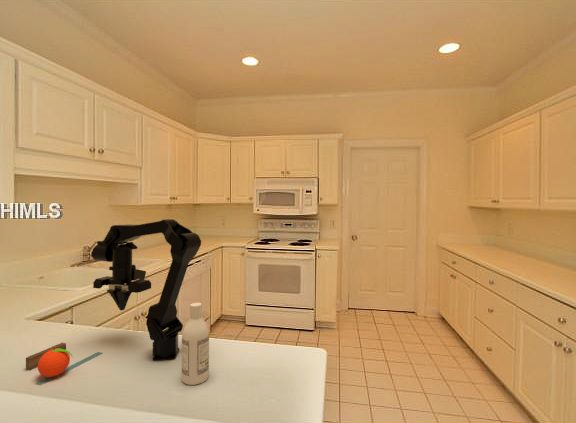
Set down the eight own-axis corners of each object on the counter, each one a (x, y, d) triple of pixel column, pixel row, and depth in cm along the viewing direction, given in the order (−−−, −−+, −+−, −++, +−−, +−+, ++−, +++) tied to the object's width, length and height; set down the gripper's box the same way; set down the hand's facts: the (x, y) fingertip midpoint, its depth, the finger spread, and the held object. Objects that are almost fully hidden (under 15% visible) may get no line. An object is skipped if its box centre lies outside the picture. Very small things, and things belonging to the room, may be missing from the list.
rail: (66, 354, 92) (66, 343, 92) (29, 371, 83) (29, 358, 83) (62, 353, 93) (62, 342, 93) (25, 370, 83) (25, 357, 83)
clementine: (79, 366, 85) (79, 342, 84) (66, 380, 78) (66, 353, 78) (47, 369, 83) (47, 344, 83) (31, 384, 76) (31, 356, 76)
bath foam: (210, 370, 84) (211, 299, 83) (206, 385, 77) (206, 308, 77) (185, 371, 83) (185, 300, 83) (178, 386, 76) (179, 308, 76)
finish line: (102, 353, 93) (102, 352, 93) (40, 386, 76) (40, 385, 76) (97, 352, 94) (97, 351, 94) (34, 384, 76) (34, 383, 76)
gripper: (163, 260, 103) (162, 305, 103) (120, 257, 108) (120, 300, 108) (138, 266, 92) (137, 316, 92) (92, 262, 97) (91, 310, 97)
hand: (122, 310), depth 98 cm, fingers closed
